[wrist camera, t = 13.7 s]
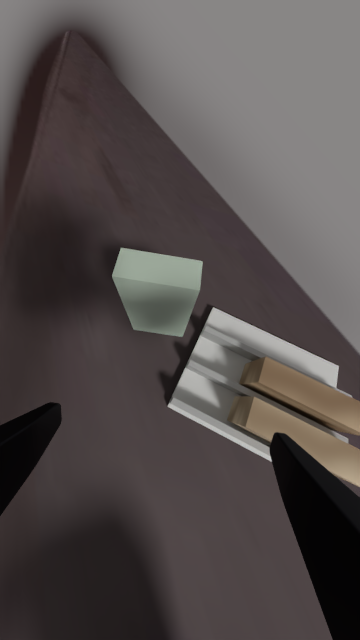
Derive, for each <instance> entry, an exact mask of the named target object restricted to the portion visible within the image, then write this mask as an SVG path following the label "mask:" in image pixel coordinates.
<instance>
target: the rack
mask: <svg viewBox="0 0 360 640" xmlns="http://www.w3.org/2000/svg"><path fill="white" fill-rule="evenodd" d="M263 357H268V358H270V359H272V360H274V361H276V362H279V363H281V364H283V365H285V366H287V367H289V368H291V369H293V370H295V371H297V372H299V373H301V374H303V375H305V376H308V377H310V378H312V379H314V380H316V381H318V382H320V383H322V384H324V385H326V386H328V387H330V388H332V389H335V390H337V391H339V392H341V393H343V394H345V395H347V396H349V397H351V398H352V396H351V395H349V394H347V393H345V392H343V391H341V390H339V389H337V388H336V385H337V377H338V369H339V366H337V365H335V364H333V363H331V362H329V361H327V360H324V359H322V358H320V357H318V356H316V355H314V354H312V353H310V352H307V351H305V350H303V349H301V348H299V347H297V346H295V345H293V344H290V343H288V342H286V341H284V340H282V339H280V338H278V337H276V336H273V335H271V334H269V333H267V332H265V331H263V330H261V329H259V328H256V327H254V326H252V325H250V324H248V323H246V322H244V321H242V320H239V319H237V318H235V317H233V316H231V315H229V314H227V313H225V312H222V311H220V310H218V309H216V308H214V307H213V308H212V310H211V312H210V314H209V317H208V319H207V321H206V323H205V325H204V327H203V330H202V332H201V334H200V336H199V338H198V340H197V343H196V345H195V347H194V349H193V351H192V354H191V356H190V358H189V360H188V362H187V364H186V367H185V369H184V371H183V373H182V375H181V377H180V380H179V382H178V384H177V386H176V388H175V391H174V393H173V395H172V397H171V399H170V401H169V404H168V407H169V408H171V409H173V410H175V411H177V412H179V413H181V414H183V415H184V416H186V417H188V418H190V419H192V420H194V421H196V422H198V423H200V424H201V425H203V426H205V427H207V428H209V429H211V430H213V431H215V432H217V433H218V434H220V435H222V436H224V437H226V438H228V439H230V440H232V441H234V442H235V443H237V444H239V445H241V446H243V447H245V448H247V449H249V450H251V451H252V452H254V453H256V454H258V455H260V456H262V457H264V458H266V459H268V460H269V461H271V462H272V460H271V456H270V451H269V449H270V444H271V443H269V442H268V441H266V440H264V439H262V438H260V437H258V436H256V435H254V434H252V433H250V432H248V431H246V430H245V429H243V428H241V427H239V426H237V425H235V424H233V423H231V422H229V421H227V418H228V415H229V412H230V409H231V406H232V403H233V400H234V397H235V396H252V397H256V398H258V399H260V400H262V401H264V402H266V403H268V404H270V405H272V406H274V407H276V408H278V409H280V410H282V411H284V412H286V413H288V414H290V415H292V416H294V417H296V418H298V419H300V420H302V421H304V422H306V423H308V424H310V425H312V426H314V427H316V428H318V429H320V430H322V431H324V432H326V433H328V434H330V435H332V436H334V437H336V438H338V439H340V440H342V441H344V442H346V443H348V438H346V437H344V436H342V435H340V434H338V433H336V432H334V431H332V430H330V429H328V428H326V427H324V426H322V425H320V424H318V423H316V422H314V421H312V420H310V419H308V418H306V417H304V416H302V415H300V414H298V413H296V412H294V411H292V410H290V409H288V408H286V407H284V406H282V405H280V404H278V403H276V402H274V401H272V400H270V399H268V398H266V397H264V396H262V395H260V394H258V393H256V392H254V391H252V390H250V389H248V388H246V387H244V386H242V385H240V384H239V382H240V379H241V376H242V373H243V370H244V367H245V364H247V363H249V362H252V361H255V360H257V359H260V358H263Z"/></svg>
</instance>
